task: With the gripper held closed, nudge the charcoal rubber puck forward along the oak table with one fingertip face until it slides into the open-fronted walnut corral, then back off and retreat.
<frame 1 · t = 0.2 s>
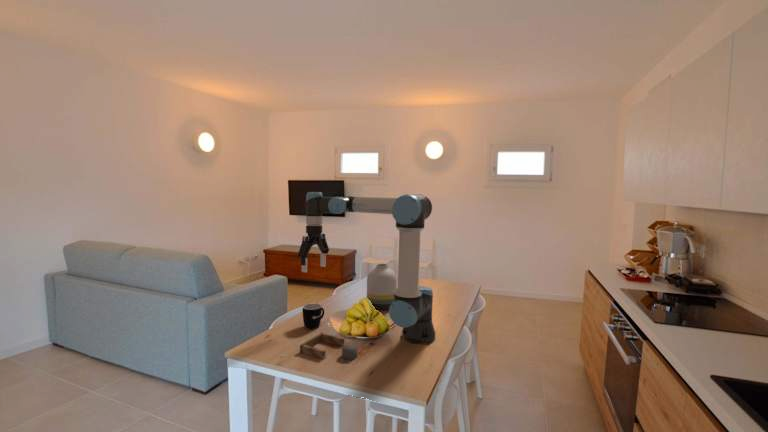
hand: (314, 269, 170), 28 cm above the table, fingers open, 13 cm apart
puck: (349, 356, 143), on the table
corral: (323, 348, 149), on the table
vase: (381, 307, 203), on the table
mug: (314, 326, 173), on the table
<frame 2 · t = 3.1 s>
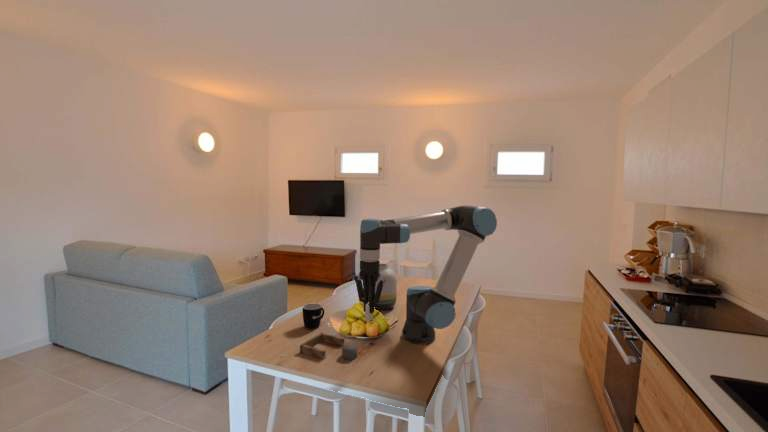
hand: (368, 320, 137), 16 cm above the table, fingers closed
nothing on the table moved.
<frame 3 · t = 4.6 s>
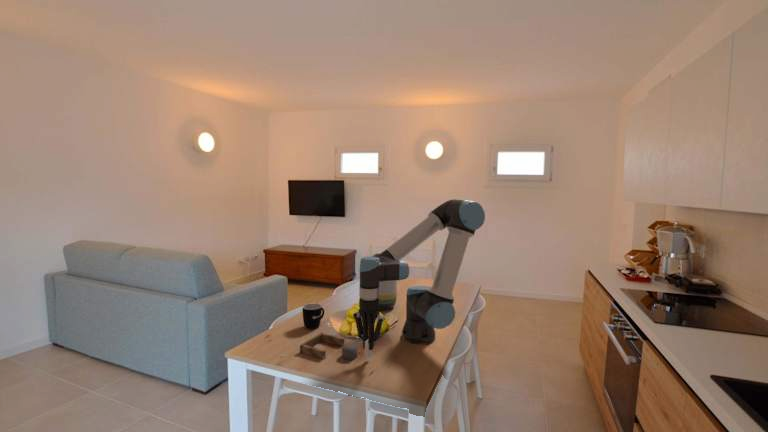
hand: (368, 357, 139), 2 cm above the table, fingers closed
nothing on the table moved.
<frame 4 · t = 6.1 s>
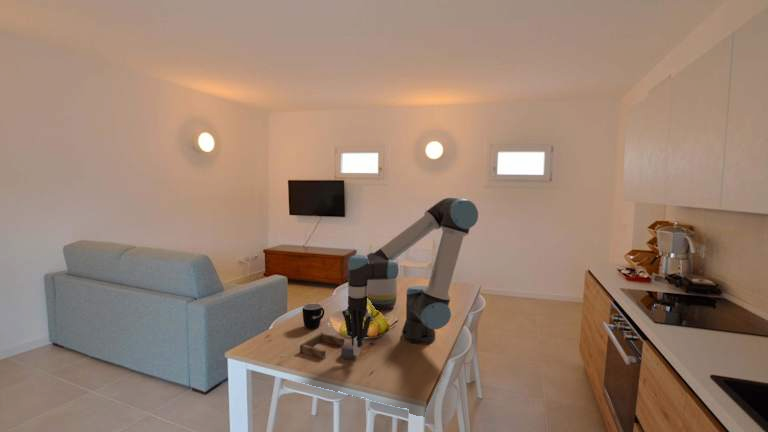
hand: (356, 354, 141), 2 cm above the table, fingers closed
puck: (348, 356, 143), on the table, touching gripper
everything else where it was.
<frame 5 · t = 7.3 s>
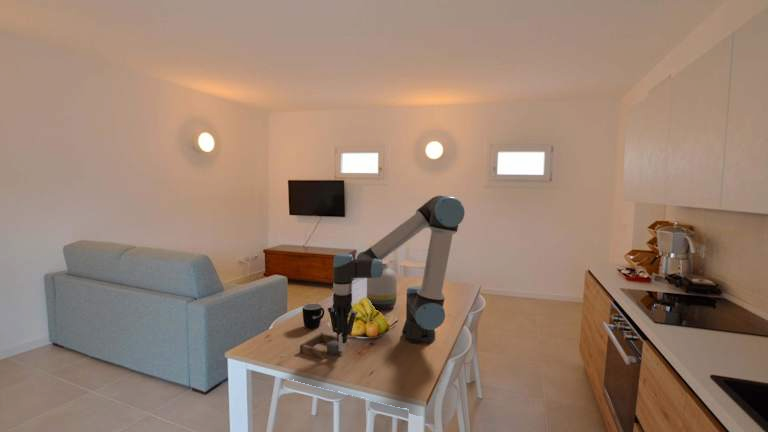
hand: (341, 350, 144), 2 cm above the table, fingers closed
puck: (334, 351, 146), on the table, touching gripper
everything else where it was.
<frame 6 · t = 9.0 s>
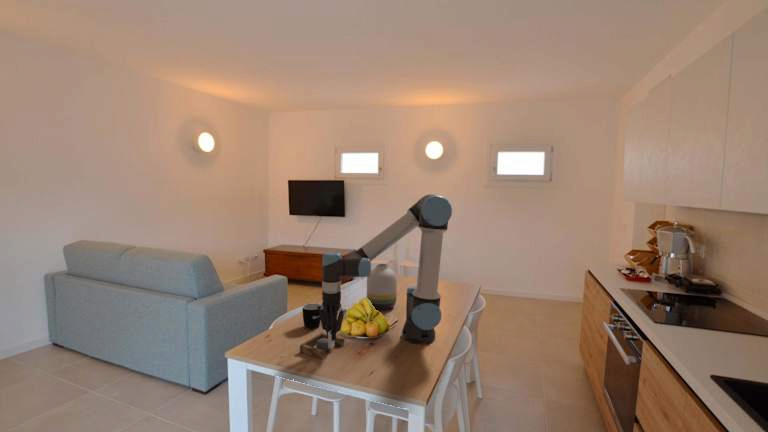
hand: (331, 347, 147), 2 cm above the table, fingers closed
puck: (323, 349, 148), on the table, touching gripper
everything else where it was.
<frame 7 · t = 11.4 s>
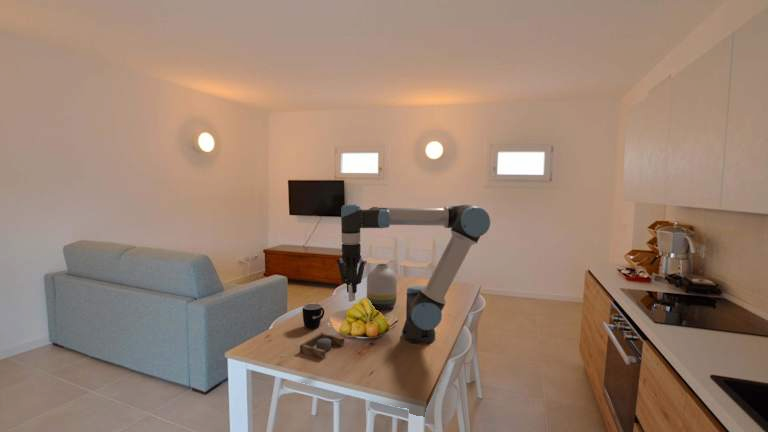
hand: (351, 300, 146), 21 cm above the table, fingers closed
puck: (323, 349, 148), on the table
everything else where it was.
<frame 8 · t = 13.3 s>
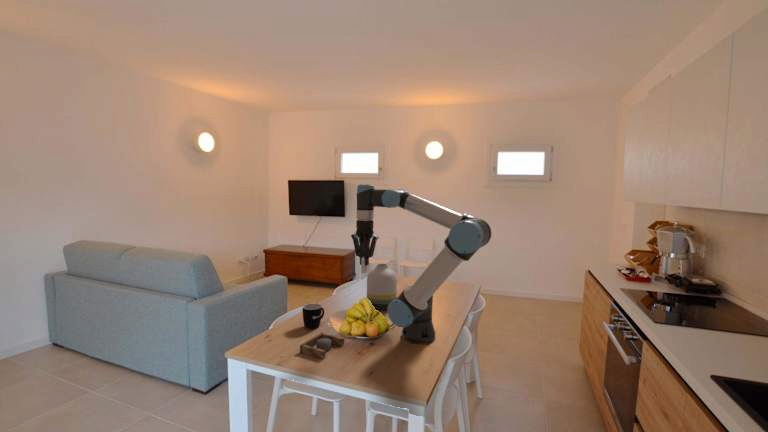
hand: (364, 272, 159), 29 cm above the table, fingers closed
nothing on the table moved.
at the end: puck inside the target area on the corral (0.3 cm from its centre), point 0.0 cm above the corral's base; puck tilted 0° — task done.
